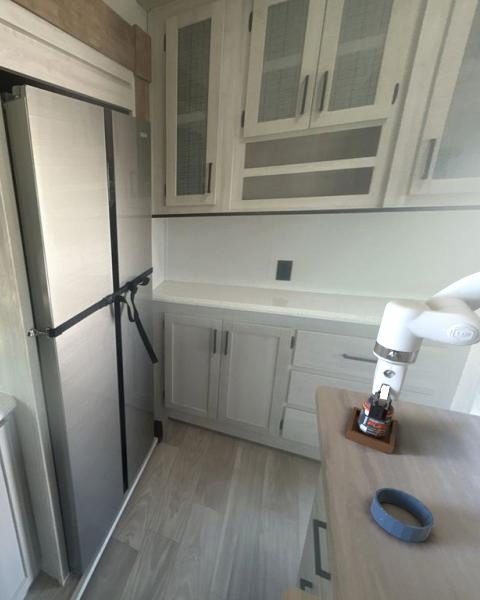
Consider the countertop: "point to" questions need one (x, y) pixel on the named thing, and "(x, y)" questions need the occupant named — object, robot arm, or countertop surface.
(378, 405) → the robot arm
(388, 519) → the ring
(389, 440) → the tray
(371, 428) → the supplement bottle
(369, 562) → the countertop surface
